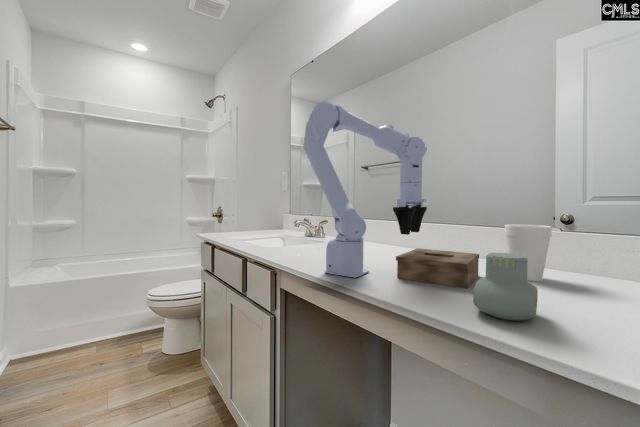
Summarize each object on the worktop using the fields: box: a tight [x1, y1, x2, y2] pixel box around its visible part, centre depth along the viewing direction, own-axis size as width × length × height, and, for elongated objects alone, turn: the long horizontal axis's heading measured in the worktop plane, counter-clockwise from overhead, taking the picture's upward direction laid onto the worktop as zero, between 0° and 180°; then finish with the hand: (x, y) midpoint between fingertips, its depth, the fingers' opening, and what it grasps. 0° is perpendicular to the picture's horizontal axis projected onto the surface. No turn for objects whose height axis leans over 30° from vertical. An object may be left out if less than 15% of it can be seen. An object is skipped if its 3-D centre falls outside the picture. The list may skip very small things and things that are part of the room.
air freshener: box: [472, 252, 538, 322], centre depth 50 cm, size 11×8×10 cm
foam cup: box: [504, 224, 552, 282], centre depth 75 cm, size 10×9×13 cm
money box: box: [395, 248, 480, 289], centre depth 76 cm, size 16×16×6 cm
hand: (410, 233), depth 82 cm, fingers open, 7 cm apart
